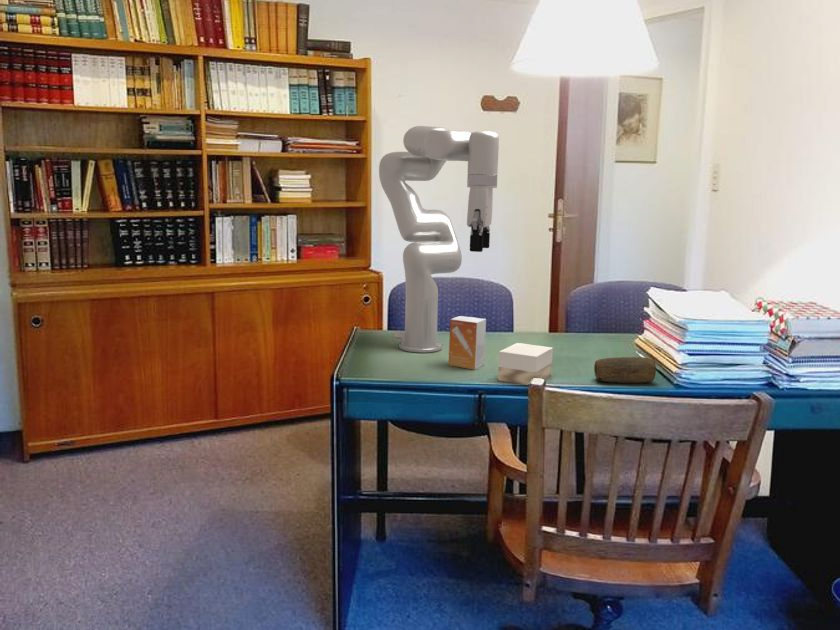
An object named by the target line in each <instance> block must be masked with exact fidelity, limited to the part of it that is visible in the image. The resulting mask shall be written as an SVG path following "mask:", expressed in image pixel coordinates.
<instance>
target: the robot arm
mask: <svg viewBox="0 0 840 630" xmlns="http://www.w3.org/2000/svg"><path fill="white" fill-rule="evenodd" d="M499 141H500V137H499V135H498V133H496V132H495V131H487V130H486V131H484V130H483V131H482V130H481V131H480V130H479V131H465V130H449V128H447V127H442V126H430V125H429V126H427V125H426V126H425V125H416V126H413V127H411V128H409V129H408V130H407V131H406V132H405V133H404V135H403V141H402V142H403V143H402V144H403V145H404V149H405V150H406V151H394V152H388V153H386V154H384V155H383V156H382V157H381V159H380V161H379V166H378V177H379V181H380V185H381V188H382V190H383V192H384V194H385V196H386V197H387V199H388V201H389V203H390V205H391V208H392V212H393V215H394V218H395V222H396V225H397V228H398V232H399V234H400V237H401V238H402V239H403V240H404V241H405V242H410V243H408V245H406V246H405V248H404V250H403V252H402V262H403V268H404V278H405V279H404V280H405V305H404V306H405V309H404V312H405V314H404V331H397V330H395V332H394V334H393V338H394V339H397V340H401V342H399V343H398V344H399V349H400V350H402V351H404V352H410V353H423V354H424V353H434V352H439V351H441V350H442V349H443V345H442V343H441V342H438V319H439V318H438V315H439V314H438V313H439V307H438V306H439V288H438V285H437V283H436V282H435V280H434V278H433V277H432V275H435V274H436V275H437V274H451V273H455V272H457V271H458V270H459V269H460V267H461V265H462V261H463V260H462V259H463V257H462V251H461V247H460V244H459V241H458V238H457V235H456V232H455V229H454V226H453V223H452V221H451V219H450V216H449V215H448V214H447V213H446V212H444V211H443V210H441V209H427V208H424V207H423V206H422V203H421V201H420V198H419V196H418V194H417V192H416V191H415V190H414V189H413V188H412V187H411V186H410V185H409V184H408V183H407V181H408V182H409V181H411V182H414V181H415V182H428V181H431V180H433V179H435V178H436V177H437V176H438V174H439V173H440V172H441V169H442V168H443V166H444V165H445V163H446V162H447V161H448V162H453V161H454V162H467V179H466V181H467V182H466V183H467V184H466V187H467V188H469V194H468V203H467V213H466V214H467V215H466V226H467V227H468V228H470V232H469V233H470V235H469V251H470V252H473V253H474V252H476V253H477V252H478V253H479V252H480V253H482V252H483V251H484V249H490V238H491V235H490V234H491V233H490V230H491V229H490V228H491V227H490V225H491V224H492V219H493V197H494V194H493V193H494V192H493V191H494V189H498V174H499V173H498V171H499V169H498V168H499V149H500V145H499V143H500V142H499Z"/></svg>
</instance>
